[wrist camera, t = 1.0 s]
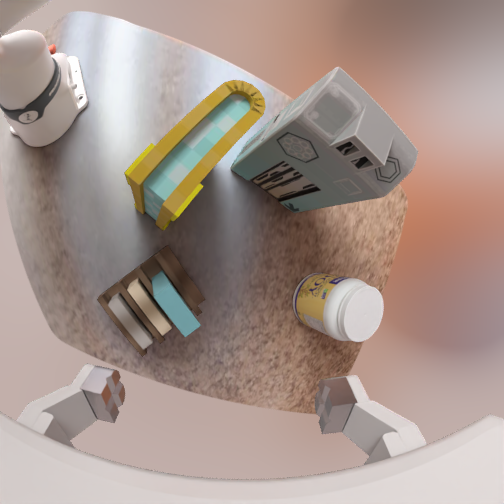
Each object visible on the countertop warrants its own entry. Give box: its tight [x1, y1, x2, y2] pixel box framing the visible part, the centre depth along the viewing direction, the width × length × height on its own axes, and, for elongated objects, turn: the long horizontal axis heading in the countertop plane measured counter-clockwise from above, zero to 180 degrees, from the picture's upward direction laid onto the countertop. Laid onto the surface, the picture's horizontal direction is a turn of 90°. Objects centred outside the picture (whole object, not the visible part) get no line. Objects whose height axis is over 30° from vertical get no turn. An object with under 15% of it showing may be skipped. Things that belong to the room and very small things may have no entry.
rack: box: [97, 246, 205, 357], centre depth 44 cm, size 12×16×6 cm
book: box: [125, 80, 265, 231], centre depth 37 cm, size 17×7×25 cm, turn 142°
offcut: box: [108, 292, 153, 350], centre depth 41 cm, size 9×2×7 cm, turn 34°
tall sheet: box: [152, 271, 201, 337], centre depth 38 cm, size 6×2×18 cm, turn 34°
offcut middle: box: [127, 277, 172, 336], centre depth 42 cm, size 9×2×7 cm, turn 34°
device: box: [231, 67, 418, 213], centre depth 41 cm, size 16×8×30 cm, turn 60°
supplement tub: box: [293, 273, 384, 342], centre depth 52 cm, size 12×12×17 cm
